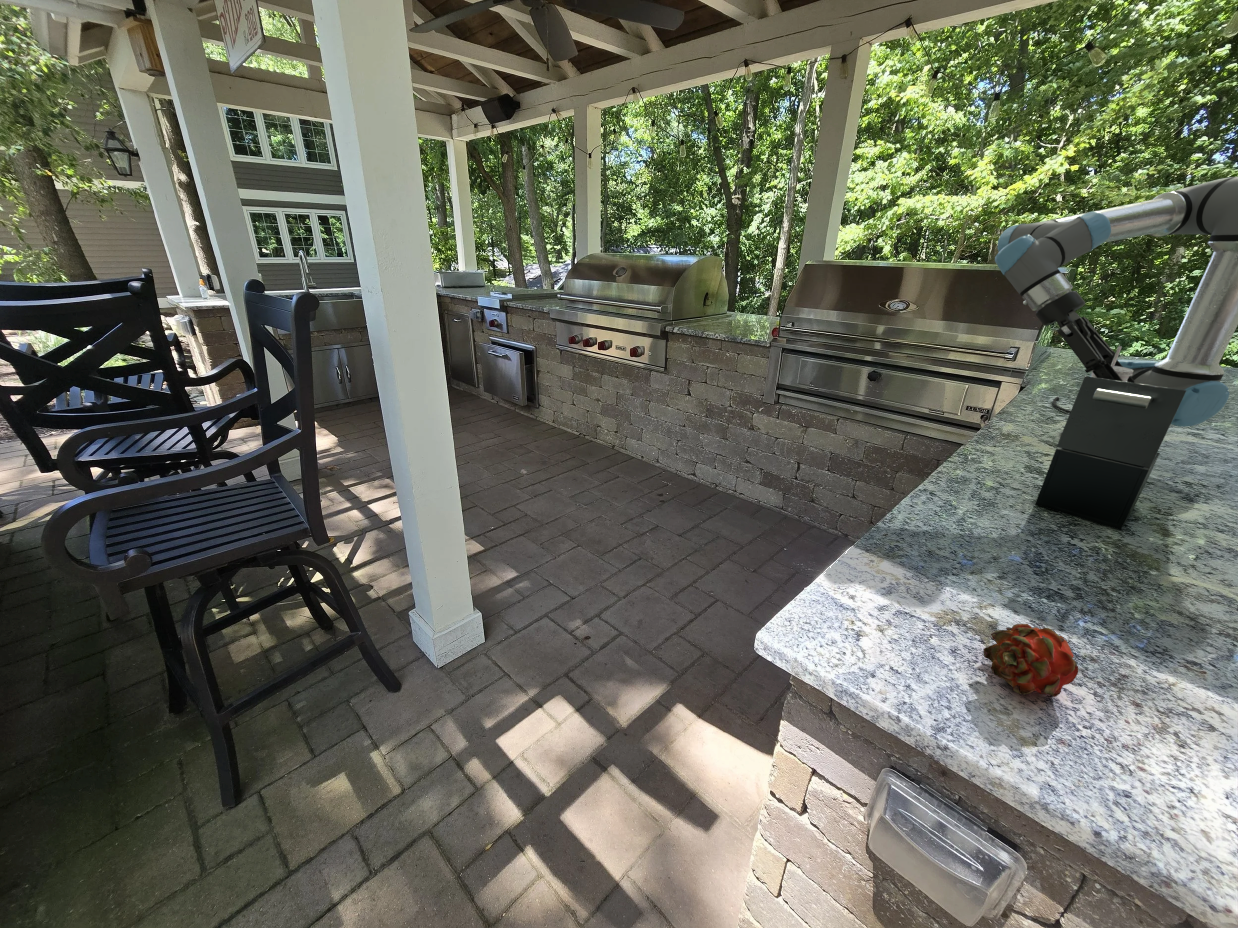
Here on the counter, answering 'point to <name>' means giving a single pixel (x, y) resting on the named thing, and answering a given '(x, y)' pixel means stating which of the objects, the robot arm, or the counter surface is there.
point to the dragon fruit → (1032, 659)
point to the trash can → (1093, 487)
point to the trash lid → (1120, 420)
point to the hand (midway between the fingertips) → (1124, 390)
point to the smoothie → (1119, 368)
